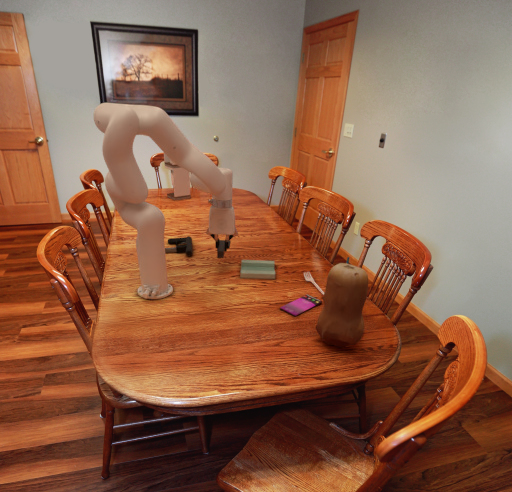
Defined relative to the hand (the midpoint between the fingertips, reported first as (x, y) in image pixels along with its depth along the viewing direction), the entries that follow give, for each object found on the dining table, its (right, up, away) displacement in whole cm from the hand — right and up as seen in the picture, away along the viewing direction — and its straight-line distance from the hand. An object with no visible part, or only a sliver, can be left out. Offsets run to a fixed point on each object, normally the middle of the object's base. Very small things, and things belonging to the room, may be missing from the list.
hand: (222, 249), depth 160 cm
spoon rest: (+14, -8, +5) cm, 17 cm away
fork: (+37, -15, -5) cm, 40 cm away
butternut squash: (+38, -37, -38) cm, 66 cm away
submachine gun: (-23, +5, +23) cm, 33 cm away
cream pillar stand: (-37, +57, +102) cm, 123 cm away
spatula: (0, 0, 0) cm, 0 cm away
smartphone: (+30, -24, -19) cm, 43 cm away
